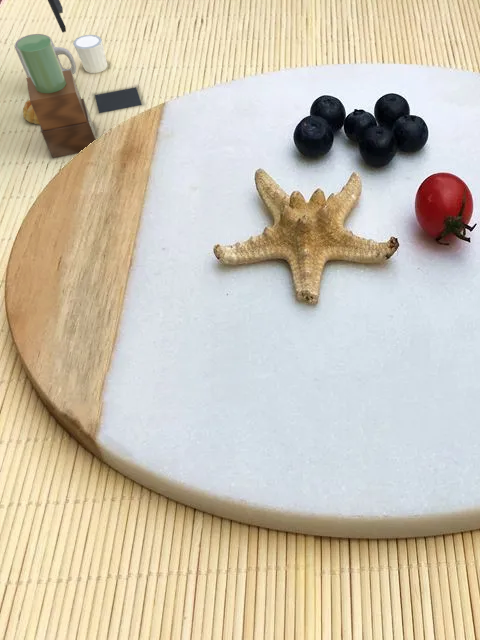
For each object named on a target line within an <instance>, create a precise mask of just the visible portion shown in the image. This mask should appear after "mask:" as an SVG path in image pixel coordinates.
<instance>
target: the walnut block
mask: <svg viewBox="0 0 480 640" xmlns="http://www.w3.org/2000/svg"><path fill="white" fill-rule="evenodd" d="M62 72H63V74H64V77H65V80H66V86H65V87H64V88H63V89H61V90H59V91H57V92H54V93H41V92H38V91H37V90H36V89H35V87H34V85H33V82H32V80H31V78H30V77H29V78H28V77H26V79H25V80H26V84H27V92H28V98H29V100H30V102H31V105H32V107H33V109H34V111H35V114H36V116H37V118H38V120H39V123H40V124H39V127H40V132H41V135H42V137H43V140H44V142H45V144H46V146H47V149H48V150H49V154H50V155H51V158H52V159H58V158H62V157H66V156H71V155H75V154H80V153H79V152H80V151H81V150H83V149H84V148H85V147H87V146H88V145H89V144H90V143H92V142H93V141H94V140H96V139H97V134H96V131H95V127H94V123H93V120H92V118H91V115H90V112H89V110H88V107H87V103H86V101H85V99H84V98H82V96H81V94H80V90H79V88H78V86H77V83H76V80H75V77H74V74H73V75H72V72H71V70H68V71H62Z"/></svg>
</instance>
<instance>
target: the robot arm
mask: <svg viewBox="0 0 480 640" xmlns="http://www.w3.org/2000/svg"><path fill="white" fill-rule="evenodd" d="M47 2H48V4H49V6H50V9H51V11H52V13H53V15H54V17H55V19H56V21H57V24H58V26H59V28H60V31H61V32H62V33H66V32H67V27H66V25H65V23H64V20H63V18H62V16H61V14H63V13H64V9H63V8H64V7H63V6H62V4H61V1H60V0H47Z"/></svg>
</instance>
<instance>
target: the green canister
mask: <svg viewBox="0 0 480 640" xmlns="http://www.w3.org/2000/svg"><path fill="white" fill-rule="evenodd" d="M44 35H45V34H44ZM44 35H32V36H28V37H25V38H23V39H21V40H20V41H19V42H18V44H17V47H18V50H19V52H20V54H21V57H22V59H23V61H24V64H25V66H26V68H27V71H28V73H29V75H30V78H31V80H32V82H33V85H34V87H35V89H36V90H37V91H38V92H41V93H54V92H57V91H59V90H61V89H63V88H64V87H65V86H66V80H65V77H64V74H63V72H62V69H61V66H60V64H59V61H58V59H57V56H56V53H55V51H54V48H53V46H52V43H51V40H50V39H49V38H48V37H47V36H48V35H47V36H44Z"/></svg>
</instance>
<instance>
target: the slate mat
mask: <svg viewBox="0 0 480 640" xmlns="http://www.w3.org/2000/svg"><path fill="white" fill-rule="evenodd" d="M94 97H95V102H96V106H97V109H98V114H102V113H107V112H113V111H118V110H123V109H129V108H134V107H139V106H142V105H143V104H142V101H141V98H140V94H139V91H138V88H137V87H130V88H125V89H119V90H115V91H109V92H103V93H99V94H94Z"/></svg>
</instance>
